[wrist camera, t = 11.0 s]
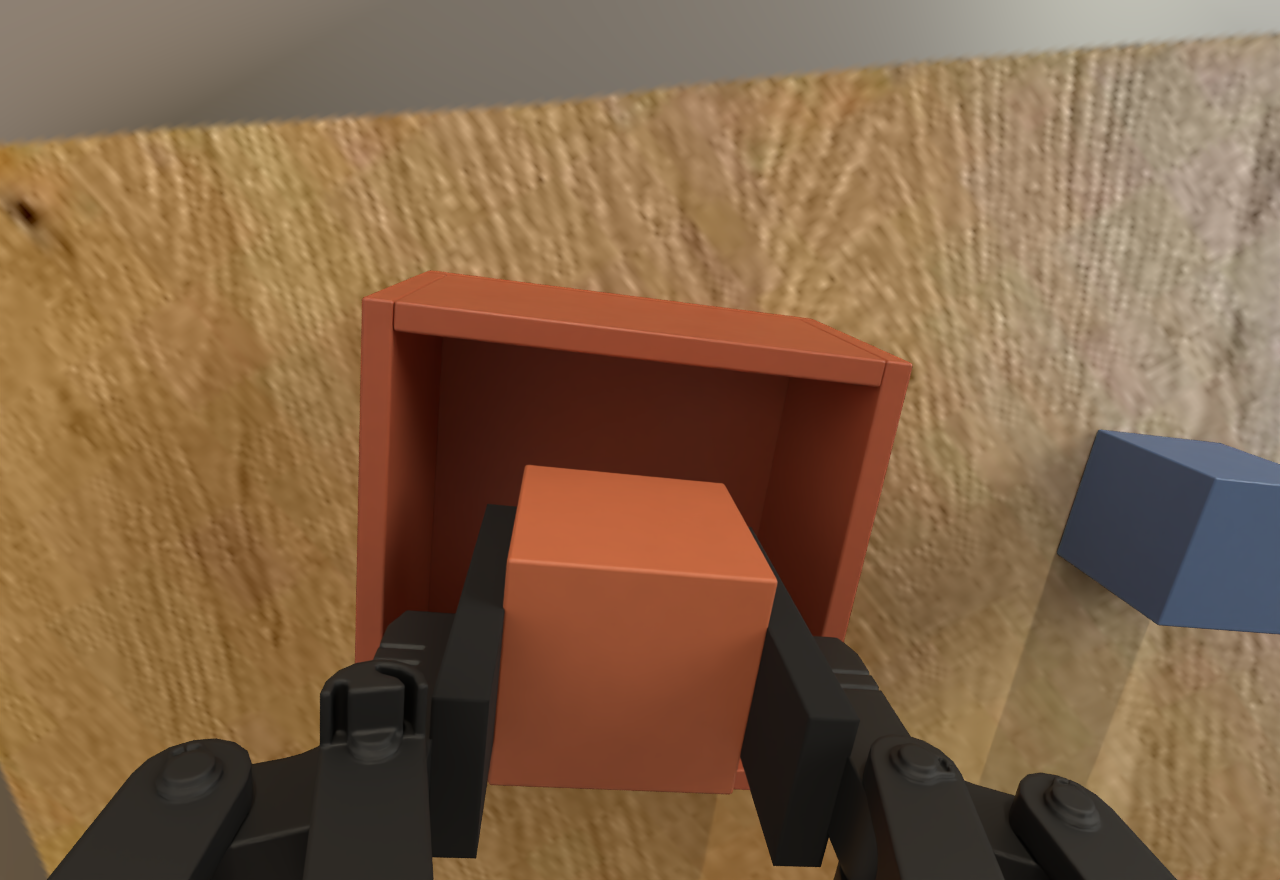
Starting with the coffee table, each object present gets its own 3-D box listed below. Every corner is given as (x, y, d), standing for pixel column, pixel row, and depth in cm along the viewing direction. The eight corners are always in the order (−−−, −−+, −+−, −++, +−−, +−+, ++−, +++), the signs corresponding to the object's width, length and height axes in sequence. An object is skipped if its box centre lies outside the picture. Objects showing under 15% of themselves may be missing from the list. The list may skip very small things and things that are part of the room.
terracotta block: (725, 482, 16) (779, 581, 12) (694, 653, 17) (733, 796, 13) (524, 463, 16) (507, 559, 11) (508, 641, 17) (486, 786, 13)
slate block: (1220, 443, 24) (1362, 493, 19) (1172, 564, 25) (1296, 636, 21) (1097, 428, 23) (1216, 478, 19) (1055, 553, 24) (1157, 626, 20)
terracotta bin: (813, 318, 21) (914, 363, 15) (746, 644, 24) (806, 793, 18) (427, 269, 20) (361, 296, 14) (411, 622, 23) (351, 774, 17)
